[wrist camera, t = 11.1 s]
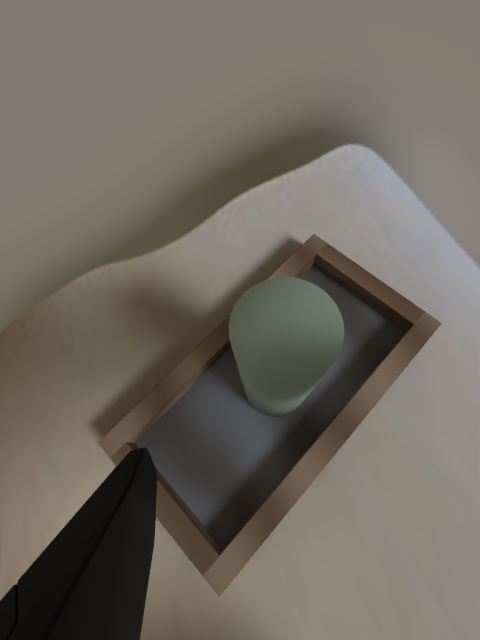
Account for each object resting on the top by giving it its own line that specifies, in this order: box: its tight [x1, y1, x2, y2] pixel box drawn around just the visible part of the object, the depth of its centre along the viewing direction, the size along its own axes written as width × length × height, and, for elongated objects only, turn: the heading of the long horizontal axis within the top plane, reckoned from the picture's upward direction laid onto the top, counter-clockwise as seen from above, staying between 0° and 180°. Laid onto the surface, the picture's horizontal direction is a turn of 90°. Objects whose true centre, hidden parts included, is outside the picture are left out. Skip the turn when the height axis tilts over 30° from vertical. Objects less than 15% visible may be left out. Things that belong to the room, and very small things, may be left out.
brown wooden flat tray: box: [98, 234, 442, 596], centre depth 21 cm, size 20×10×2 cm, turn 136°
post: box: [229, 277, 344, 417], centre depth 16 cm, size 4×4×11 cm
